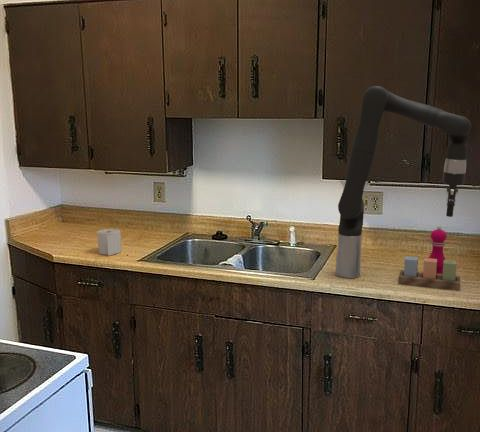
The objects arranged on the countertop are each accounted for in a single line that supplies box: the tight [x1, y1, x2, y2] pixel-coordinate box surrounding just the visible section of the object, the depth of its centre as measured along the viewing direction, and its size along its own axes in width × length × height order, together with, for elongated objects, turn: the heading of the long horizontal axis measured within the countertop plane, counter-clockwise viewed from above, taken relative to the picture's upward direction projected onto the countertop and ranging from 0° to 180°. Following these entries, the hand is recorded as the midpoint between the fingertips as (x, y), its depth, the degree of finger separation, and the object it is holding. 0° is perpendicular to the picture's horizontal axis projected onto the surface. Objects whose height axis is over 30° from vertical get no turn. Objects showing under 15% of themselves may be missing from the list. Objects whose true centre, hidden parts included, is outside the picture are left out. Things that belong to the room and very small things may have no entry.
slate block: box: [403, 256, 419, 277], centre depth 211 cm, size 5×5×7 cm
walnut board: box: [397, 269, 461, 292], centre depth 209 cm, size 22×9×3 cm, turn 68°
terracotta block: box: [422, 257, 437, 279], centre depth 208 cm, size 5×5×7 cm
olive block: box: [442, 259, 458, 281], centre depth 206 cm, size 5×5×7 cm
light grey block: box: [96, 228, 122, 257], centre depth 255 cm, size 11×12×10 cm
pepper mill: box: [428, 225, 447, 274], centre depth 219 cm, size 7×7×20 cm
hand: (449, 214), depth 203 cm, fingers open, 8 cm apart
